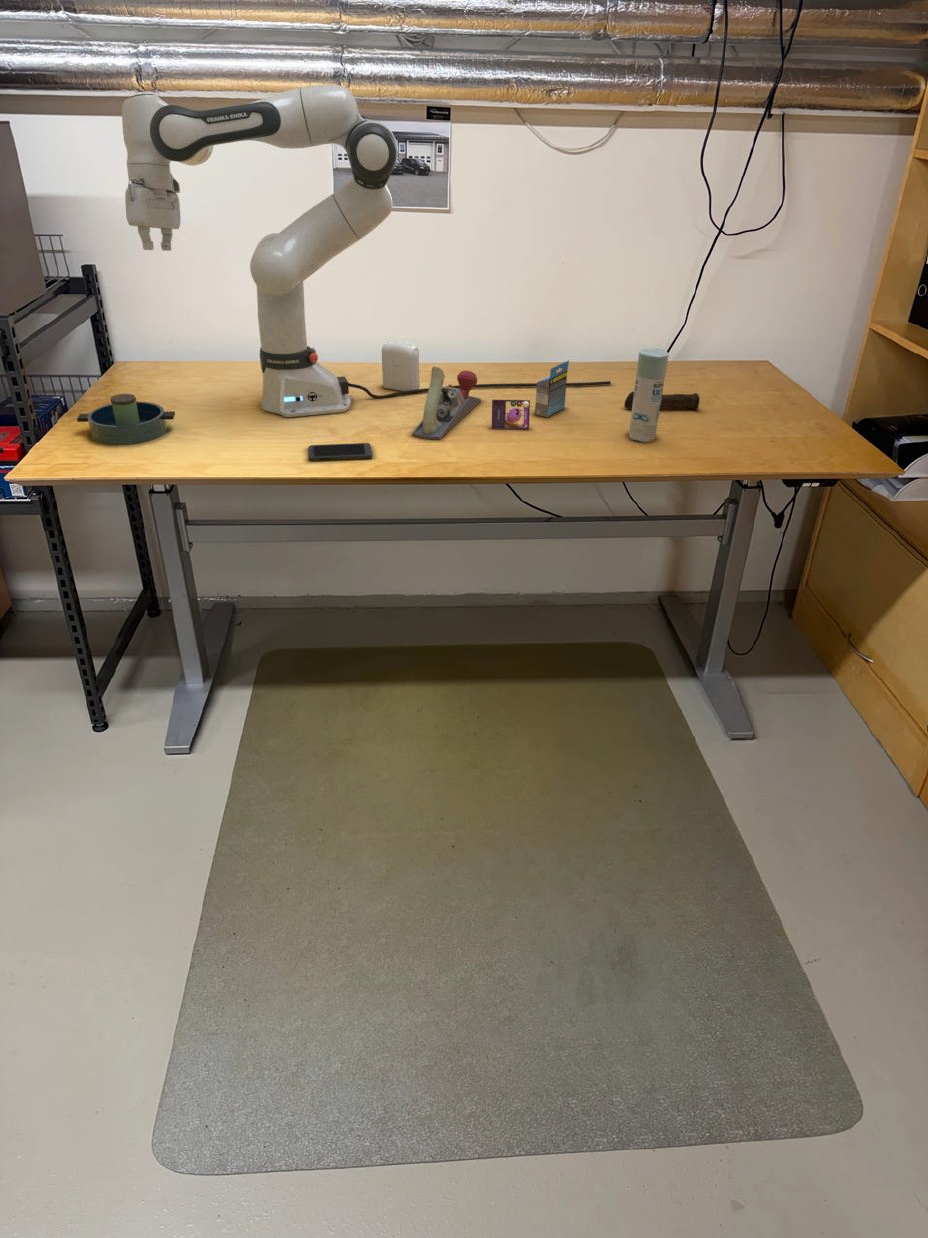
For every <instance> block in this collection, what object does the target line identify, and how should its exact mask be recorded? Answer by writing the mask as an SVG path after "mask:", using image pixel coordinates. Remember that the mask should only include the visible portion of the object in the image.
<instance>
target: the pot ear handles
mask: <svg viewBox="0 0 928 1238" xmlns="http://www.w3.org/2000/svg"><path fill="white" fill-rule="evenodd" d="M164 412H165V413H164V415H163V419H164V420H166V421H167V420H174V419H175V416H176V411H174V410H173V411H172V410H171V411H164ZM88 415H89V413H79V415H78V416H77V418H76V421H77V423H87V422H88V418H87V416H88Z"/></svg>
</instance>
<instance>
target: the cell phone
mask: <svg viewBox="0 0 928 1238" xmlns="http://www.w3.org/2000/svg"><path fill="white" fill-rule="evenodd" d="M307 449H308V451H307V452H308V460H309V461H312V462H318V461H319V462H320V461H339V460H342V461H343V460H364V459H365V460H367V459H372V458H373V450H372V445H371V443H369V442H355V443H354V442H353V443H336V444H335V443H331V444H329V443H327V444H311V445H309V446H308V448H307Z"/></svg>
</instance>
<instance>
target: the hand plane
mask: <svg viewBox="0 0 928 1238" xmlns="http://www.w3.org/2000/svg"><path fill="white" fill-rule="evenodd" d="M456 376H457V377H456V379H457V383H458V385H460V389H457V388H455V387H453V386H454V385H452V384H448V385H447V386H448V387H445V386H443V385H444V381H445V377H446V376H445V372H444V370H443V369H442V368H441V367H439V366H432V367H431V375H430V382H429V386H428V388H429V390H428V392H427V394H426V395H427V396H426V399H425V403H424V406H423V407H424V408H423V415H422V420H421V421H420V422H419V424H418V425H417V426H416V428H414V430H413V431H412V436H414V437H417V438H419V439H425V440H441V439H442V438H443V437H445V436H446V435H447V434H448V433H449V432H450V431H451V430H452V429H453V428H455V427H456V425H457V424H458V423H459V422H460V421H462V420H463V418H465V416H467V415H468V414H469V413H470V412H471V411H472V410H473V409H474V408H476V407H477V405H478V404H480V403H481V401H482V398H480V397H476V396H470V391H471V390H472V389H473V387H474V386H475V385H476V384H477V383H478V377H477V375H476V373H475V372H473V371H470V370H461V371H459V373H458V374H457V375H456Z"/></svg>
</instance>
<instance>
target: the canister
mask: <svg viewBox="0 0 928 1238" xmlns="http://www.w3.org/2000/svg"><path fill="white" fill-rule="evenodd" d="M109 399H110V404H112V407H113V412H114V417H115V421H116V426H124V425H133V424H138V423H140V420H139V415H138V409H137V404H136V401H137V397H136V395H135V394H131V393H120V394H119V393H118V394H115V395H113V396H111V397H110V398H109Z"/></svg>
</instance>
